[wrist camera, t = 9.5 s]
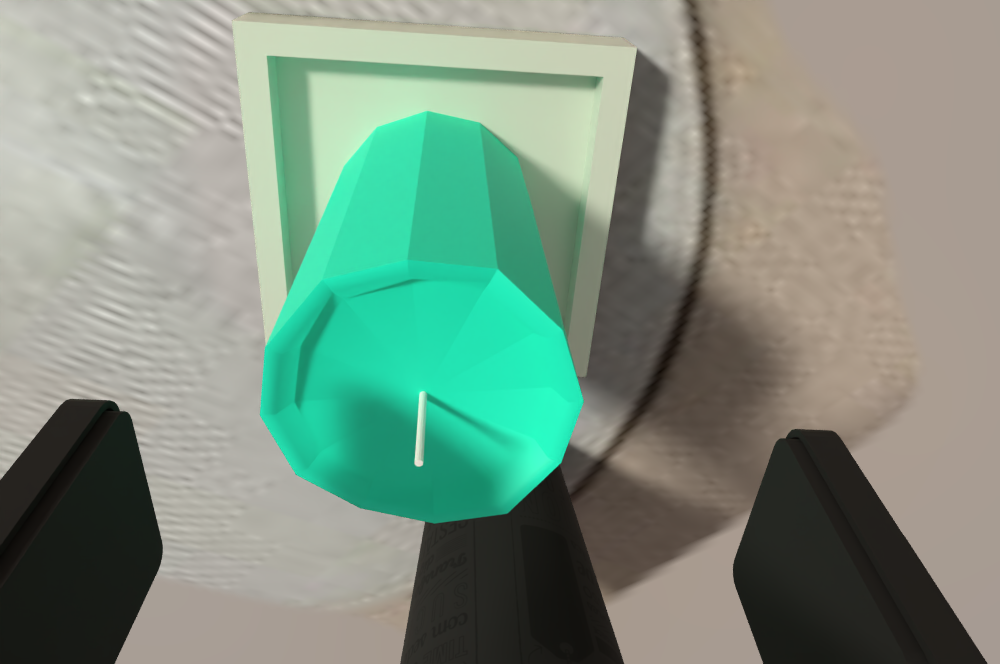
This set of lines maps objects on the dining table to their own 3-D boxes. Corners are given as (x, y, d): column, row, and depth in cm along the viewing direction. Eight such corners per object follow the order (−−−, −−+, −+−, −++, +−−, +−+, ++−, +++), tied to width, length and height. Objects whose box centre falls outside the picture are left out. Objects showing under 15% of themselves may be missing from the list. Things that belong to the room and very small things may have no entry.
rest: (623, 37, 21) (637, 47, 19) (578, 349, 26) (585, 377, 25) (248, 12, 20) (231, 20, 19) (279, 340, 25) (268, 368, 24)
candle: (566, 235, 23) (657, 497, 13) (411, 325, 24) (380, 629, 14) (463, 69, 20) (473, 230, 10) (295, 181, 22) (151, 424, 11)
